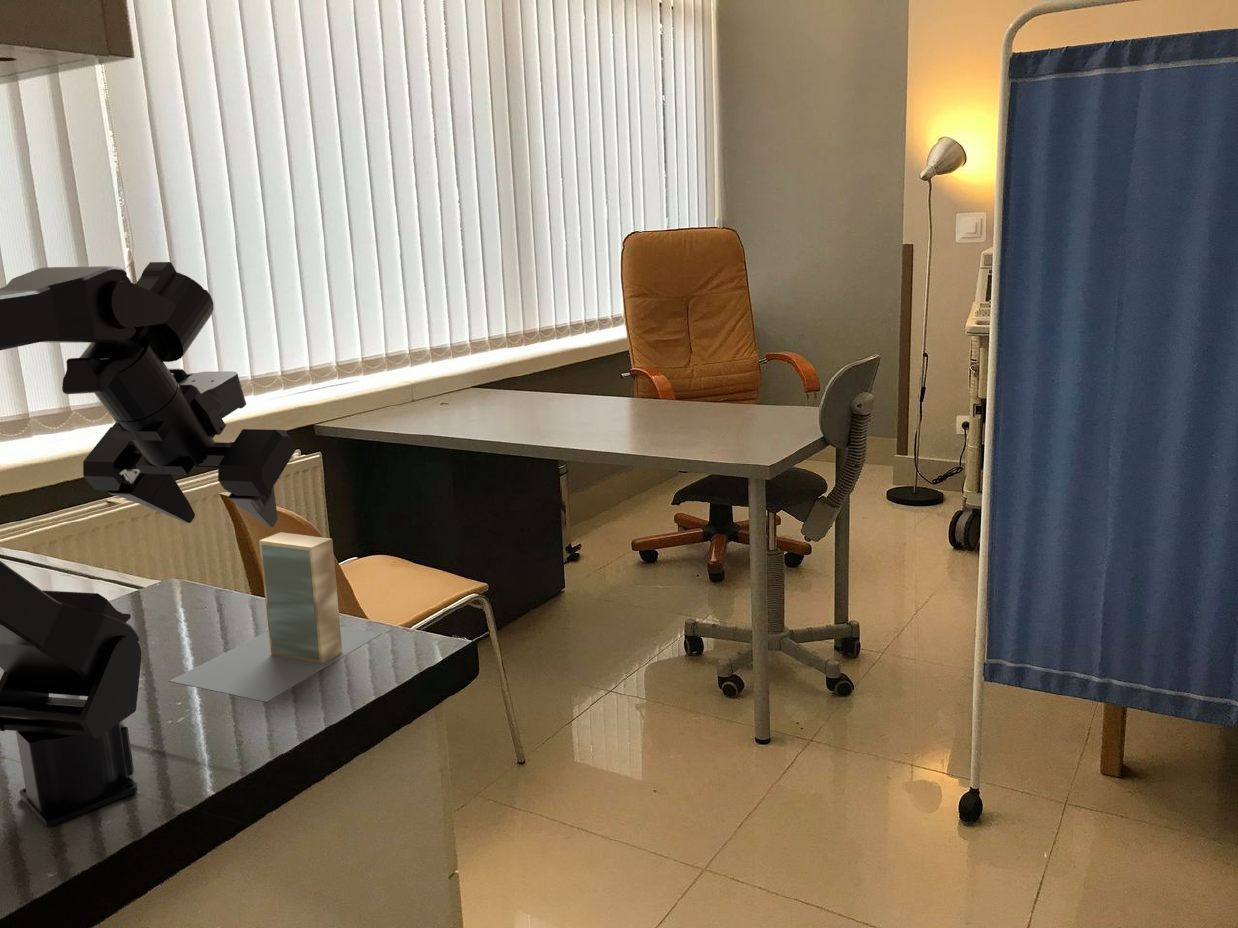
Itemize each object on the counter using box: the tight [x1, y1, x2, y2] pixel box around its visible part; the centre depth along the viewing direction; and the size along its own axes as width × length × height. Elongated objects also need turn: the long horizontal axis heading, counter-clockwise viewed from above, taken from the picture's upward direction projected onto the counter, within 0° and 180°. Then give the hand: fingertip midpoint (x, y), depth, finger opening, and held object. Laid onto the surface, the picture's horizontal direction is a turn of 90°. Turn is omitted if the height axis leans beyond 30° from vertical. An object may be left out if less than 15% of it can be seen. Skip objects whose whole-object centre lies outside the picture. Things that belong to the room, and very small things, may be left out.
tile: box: [258, 531, 342, 664], centre depth 99 cm, size 3×6×12 cm, turn 66°
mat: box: [169, 625, 383, 703], centre depth 100 cm, size 17×12×1 cm
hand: (232, 521), depth 94 cm, fingers open, 9 cm apart
